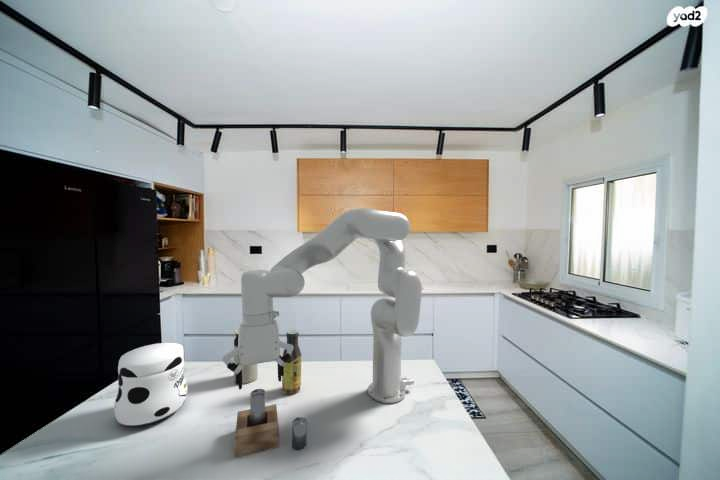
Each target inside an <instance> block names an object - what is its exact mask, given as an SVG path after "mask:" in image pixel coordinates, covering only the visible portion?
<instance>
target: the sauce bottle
mask: <svg viewBox="0 0 720 480" xmlns="http://www.w3.org/2000/svg"><path fill="white" fill-rule="evenodd" d="M285 336H286V343H288V344H291V345H293V347H294V349H293V351H292V353H291V355H290V358H289V359H288V360H287V361H286V362H285V365H284V376H281V387H282V392H283V393H284V394H286V395H293V394H297V393H298V392H299V391H300V390H301V385H302V352H301V349H300V347H299V336H300V335H299V331H298V330H295V329H294V330H293V329H292V330H289V331H286V335H285ZM286 351H287V350H286V349H284V350H283V352H282V356H283V355H284V354H285V353H286Z"/></svg>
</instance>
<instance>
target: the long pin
mask: <svg viewBox="0 0 720 480" xmlns="http://www.w3.org/2000/svg"><path fill="white" fill-rule="evenodd" d="M249 395H250V397H249V398H250V401H249V402H250V404H249V405H250V408H249V409H250V427H252V426H256V425H261V424H265V406H266V390H265V389H264V388H256V389H254V390H251V392H250V394H249Z"/></svg>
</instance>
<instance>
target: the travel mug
mask: <svg viewBox="0 0 720 480" xmlns="http://www.w3.org/2000/svg"><path fill="white" fill-rule="evenodd" d="M234 334H235V337H234V340H233V350H234V349H236V348H237V347H238V337H239V328H238V329H235V330H234ZM233 362H234V363H235V364H237V363H238V362H239V361H238V354H237V355H236V356H234V357H233ZM257 378H258V364H252V365H246V366H244V367H243V368H242V385H243V384H248V383H252V382H253V381H255V380H256V379H257ZM233 381H234V382H235V383H236V376H235V374H234V373H233Z"/></svg>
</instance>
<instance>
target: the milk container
mask: <svg viewBox="0 0 720 480" xmlns="http://www.w3.org/2000/svg"><path fill="white" fill-rule="evenodd" d="M184 353H185V352H184V346H183V345H182V344H180V343H176V342H161V343H160V342H158V343H153V344H148V345H144V346H140V347H138V348H137V347H136V348H135V349H132V350H130V351H127V352H126V353H124V354H123V355H121V356H120V359H119V360H118V366H117V373H118V375H117V380H118V388H117V389H118V390H117V394H116V398H115V400H114V401H115V402H114V406H113V411H114V412H113V413H114V416H115V419H116V421H117V422H118V423H119V424H120V425H123V426H126V427H143V426H147V425H151V424H155V423H157V422H159V421H163V420H165V419H167V418H168V417H171V416H172V415H174V414H175V413H176V412H177V411H178V410H180V409H181V408H182V407H183V406H184V404H185V402H186V400H187V396H188V383H187V380H186V377H185V359H184V357H185V356H184V355H185V354H184Z"/></svg>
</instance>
